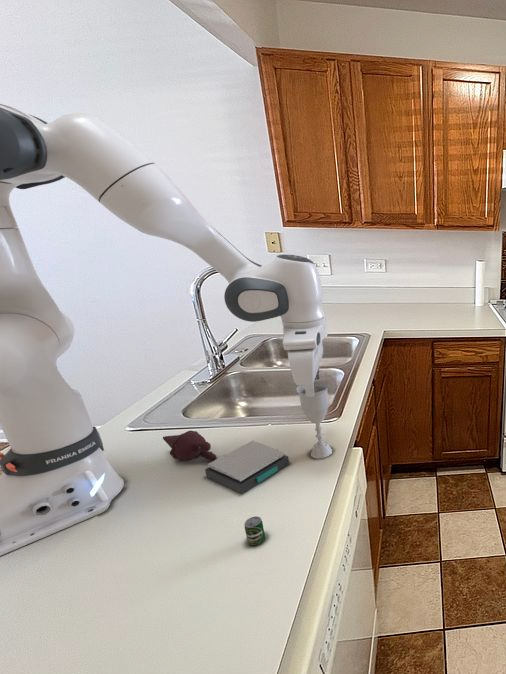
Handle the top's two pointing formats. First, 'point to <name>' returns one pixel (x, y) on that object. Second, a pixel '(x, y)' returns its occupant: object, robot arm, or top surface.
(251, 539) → the beer can
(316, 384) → the chalice
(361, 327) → the top surface
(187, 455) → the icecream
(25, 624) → the top surface
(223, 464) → the scale pan
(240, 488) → the scale
